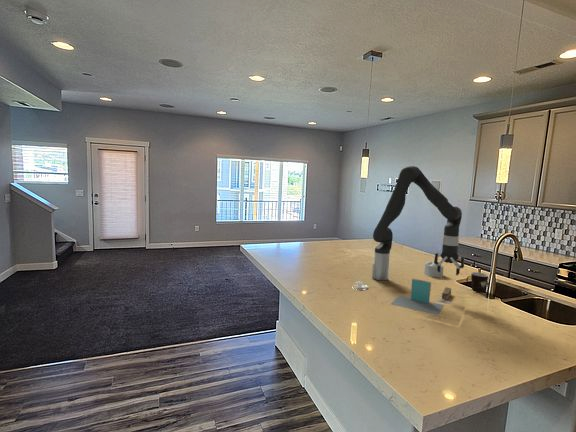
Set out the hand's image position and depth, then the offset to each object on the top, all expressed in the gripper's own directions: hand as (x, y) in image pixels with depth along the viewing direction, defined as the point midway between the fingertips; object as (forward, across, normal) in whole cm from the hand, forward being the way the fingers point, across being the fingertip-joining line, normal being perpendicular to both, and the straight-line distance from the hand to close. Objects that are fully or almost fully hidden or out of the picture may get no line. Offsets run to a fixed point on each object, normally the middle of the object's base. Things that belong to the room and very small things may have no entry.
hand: (448, 273), depth 171 cm
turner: (+14, 0, -1) cm, 14 cm away
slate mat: (+14, -10, -22) cm, 28 cm away
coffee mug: (+14, +12, +26) cm, 32 cm away
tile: (+13, -10, -16) cm, 23 cm away
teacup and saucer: (+14, -41, -16) cm, 46 cm away
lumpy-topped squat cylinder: (+14, -15, +46) cm, 51 cm away
